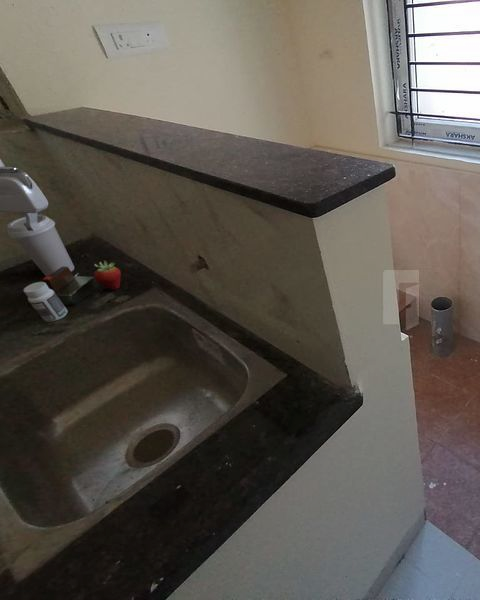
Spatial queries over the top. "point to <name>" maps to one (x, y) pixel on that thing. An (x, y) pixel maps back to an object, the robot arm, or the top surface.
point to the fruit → (108, 275)
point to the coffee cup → (41, 244)
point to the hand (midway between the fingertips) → (14, 229)
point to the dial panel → (77, 290)
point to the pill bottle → (45, 302)
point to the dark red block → (59, 279)
